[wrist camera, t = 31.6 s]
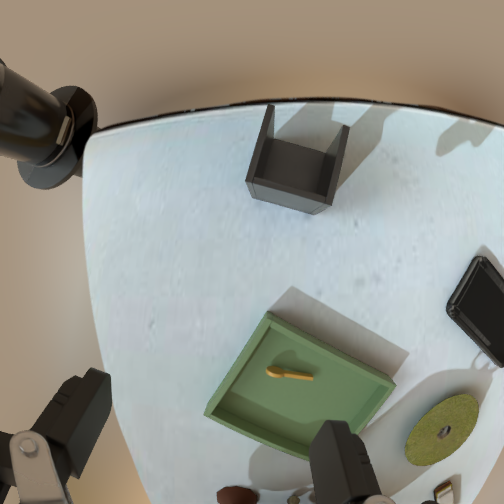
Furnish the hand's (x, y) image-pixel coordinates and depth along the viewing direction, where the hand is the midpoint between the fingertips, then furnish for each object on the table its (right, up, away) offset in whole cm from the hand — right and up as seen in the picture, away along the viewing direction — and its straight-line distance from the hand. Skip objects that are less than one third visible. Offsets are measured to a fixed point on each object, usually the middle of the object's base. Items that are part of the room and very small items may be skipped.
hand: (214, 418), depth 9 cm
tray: (+6, -9, +19) cm, 22 cm away
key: (+5, -6, +17) cm, 19 cm away
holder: (+5, +13, +18) cm, 23 cm away
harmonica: (+34, -37, +18) cm, 53 cm away
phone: (+30, -2, +17) cm, 35 cm away
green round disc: (+25, -16, +18) cm, 35 cm away
